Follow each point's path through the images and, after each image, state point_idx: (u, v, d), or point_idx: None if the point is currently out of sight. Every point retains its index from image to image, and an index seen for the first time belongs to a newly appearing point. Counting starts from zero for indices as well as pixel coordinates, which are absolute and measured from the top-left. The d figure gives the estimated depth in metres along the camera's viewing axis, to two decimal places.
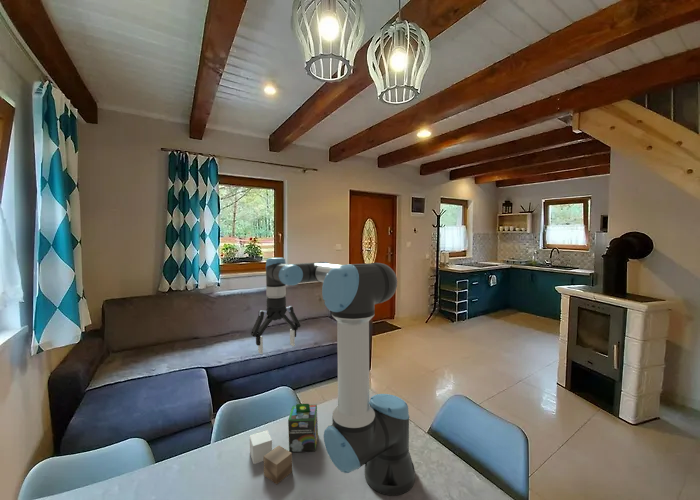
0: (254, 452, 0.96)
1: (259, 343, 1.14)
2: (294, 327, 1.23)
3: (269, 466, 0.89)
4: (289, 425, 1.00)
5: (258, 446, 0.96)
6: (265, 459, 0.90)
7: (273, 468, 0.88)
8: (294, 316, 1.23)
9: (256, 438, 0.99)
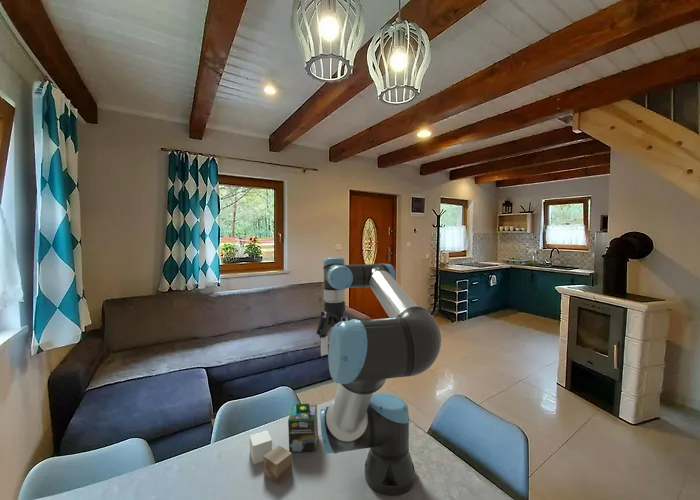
0: (254, 452, 0.96)
1: None
2: None
3: (269, 466, 0.89)
4: (289, 425, 1.00)
5: (258, 446, 0.96)
6: (265, 459, 0.90)
7: (273, 468, 0.88)
8: None
9: (256, 438, 0.99)
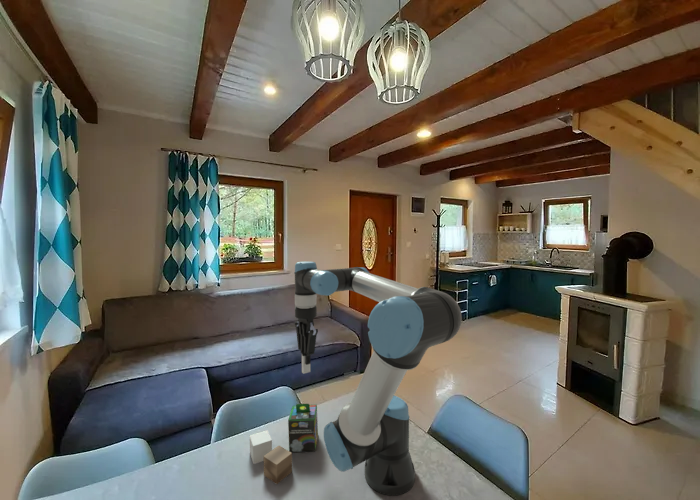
0: (254, 452, 0.96)
1: None
2: (304, 352, 1.03)
3: (269, 466, 0.89)
4: (289, 425, 1.00)
5: (258, 446, 0.96)
6: (265, 459, 0.90)
7: (273, 468, 0.88)
8: (308, 341, 1.01)
9: (256, 438, 0.99)
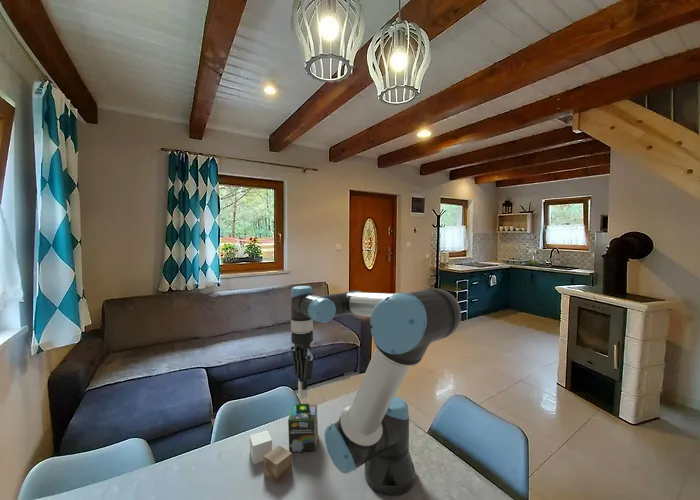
0: (254, 452, 0.96)
1: None
2: (301, 377, 1.03)
3: (269, 466, 0.89)
4: (289, 425, 1.00)
5: (258, 446, 0.96)
6: (265, 459, 0.90)
7: (273, 468, 0.88)
8: (305, 366, 1.00)
9: (256, 438, 0.99)
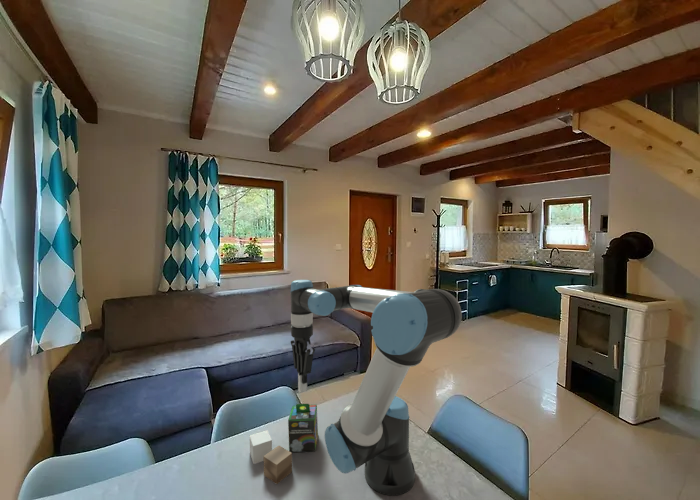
0: (254, 452, 0.96)
1: None
2: (301, 371, 1.03)
3: (269, 466, 0.89)
4: (289, 425, 1.00)
5: (258, 446, 0.96)
6: (265, 459, 0.90)
7: (273, 468, 0.88)
8: (305, 360, 1.00)
9: (256, 438, 0.99)
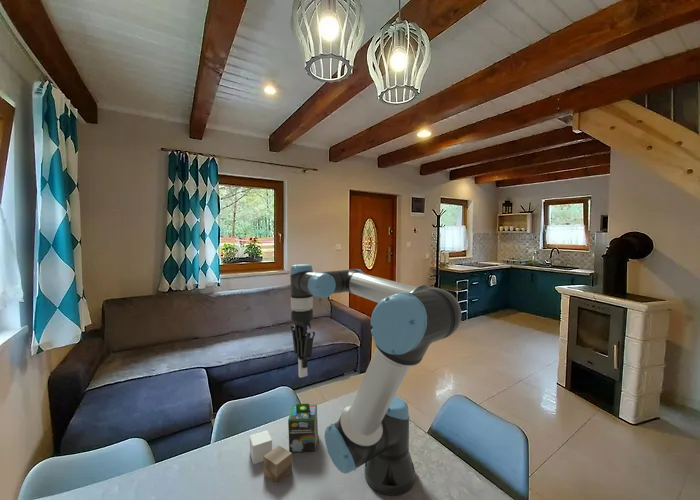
0: (254, 452, 0.96)
1: None
2: (301, 355, 1.02)
3: (269, 466, 0.89)
4: (289, 425, 1.00)
5: (258, 446, 0.96)
6: (265, 459, 0.90)
7: (272, 468, 0.88)
8: (305, 344, 1.00)
9: (256, 438, 0.99)
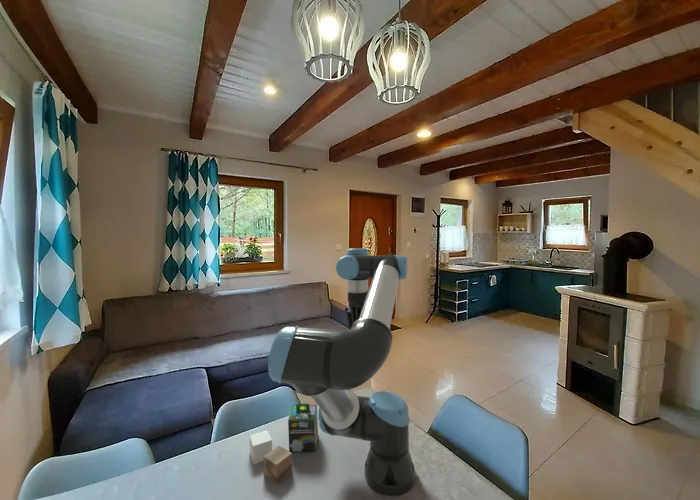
0: (254, 452, 0.96)
1: None
2: None
3: (269, 466, 0.89)
4: (289, 425, 1.00)
5: (258, 446, 0.96)
6: (265, 459, 0.90)
7: (272, 468, 0.88)
8: None
9: (256, 438, 0.99)
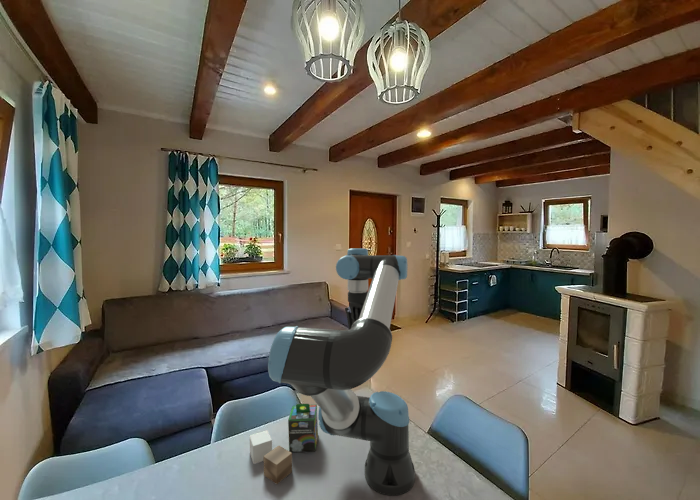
0: (254, 452, 0.96)
1: None
2: None
3: (269, 466, 0.89)
4: (289, 425, 1.00)
5: (258, 446, 0.96)
6: (265, 459, 0.90)
7: (273, 468, 0.88)
8: None
9: (256, 438, 0.99)
